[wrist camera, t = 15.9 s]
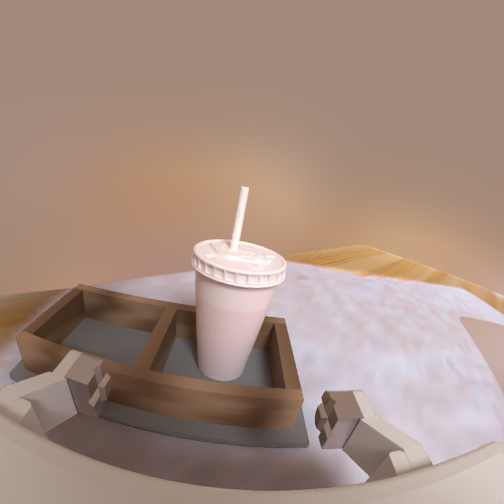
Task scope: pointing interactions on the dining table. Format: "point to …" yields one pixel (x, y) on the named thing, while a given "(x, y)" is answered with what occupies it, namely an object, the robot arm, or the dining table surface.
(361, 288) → the dining table surface
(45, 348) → the tray
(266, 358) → the mat
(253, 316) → the smoothie
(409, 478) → the robot arm
